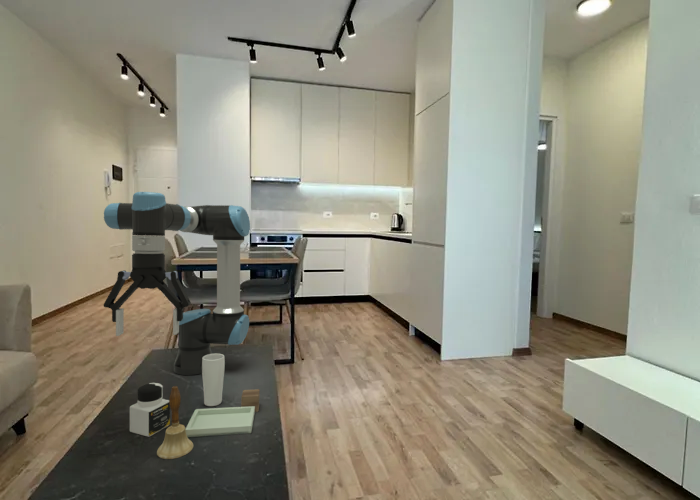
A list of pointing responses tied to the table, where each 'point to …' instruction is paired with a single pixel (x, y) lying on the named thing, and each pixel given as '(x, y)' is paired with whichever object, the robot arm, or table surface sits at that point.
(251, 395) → the walnut block
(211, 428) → the tray
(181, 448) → the hand bell
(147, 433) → the medicine bottle
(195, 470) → the table surface
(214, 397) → the drinking glass
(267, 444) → the table surface
